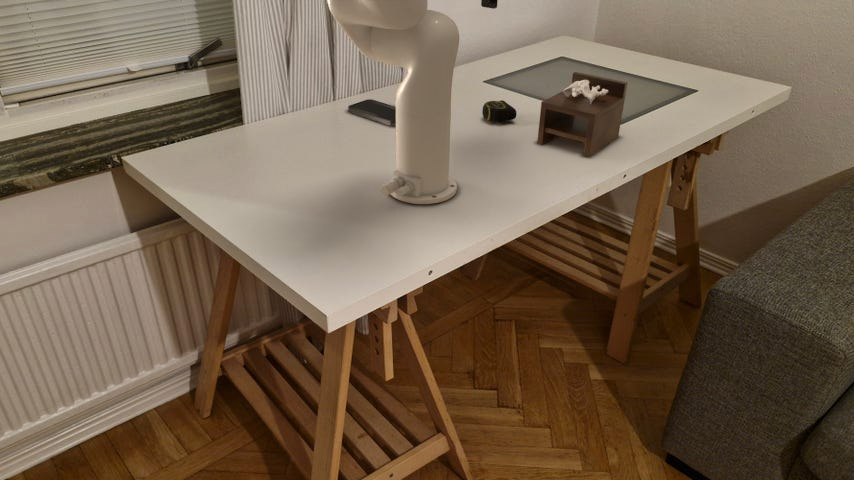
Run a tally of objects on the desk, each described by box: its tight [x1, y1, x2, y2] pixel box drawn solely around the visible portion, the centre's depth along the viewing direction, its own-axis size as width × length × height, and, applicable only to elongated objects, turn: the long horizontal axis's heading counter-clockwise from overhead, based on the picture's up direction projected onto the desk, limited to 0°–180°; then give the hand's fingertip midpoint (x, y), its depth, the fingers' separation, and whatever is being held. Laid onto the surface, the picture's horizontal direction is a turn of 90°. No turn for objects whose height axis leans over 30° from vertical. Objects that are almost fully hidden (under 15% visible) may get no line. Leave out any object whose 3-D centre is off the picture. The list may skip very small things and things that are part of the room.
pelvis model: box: [562, 80, 608, 104], centre depth 142 cm, size 8×4×7 cm
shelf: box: [536, 71, 628, 158], centre depth 145 cm, size 14×12×12 cm
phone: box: [347, 98, 396, 127], centre depth 160 cm, size 8×1×15 cm
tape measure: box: [481, 99, 518, 124], centre depth 157 cm, size 7×7×4 cm
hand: (503, 3), depth 131 cm, fingers open, 9 cm apart
